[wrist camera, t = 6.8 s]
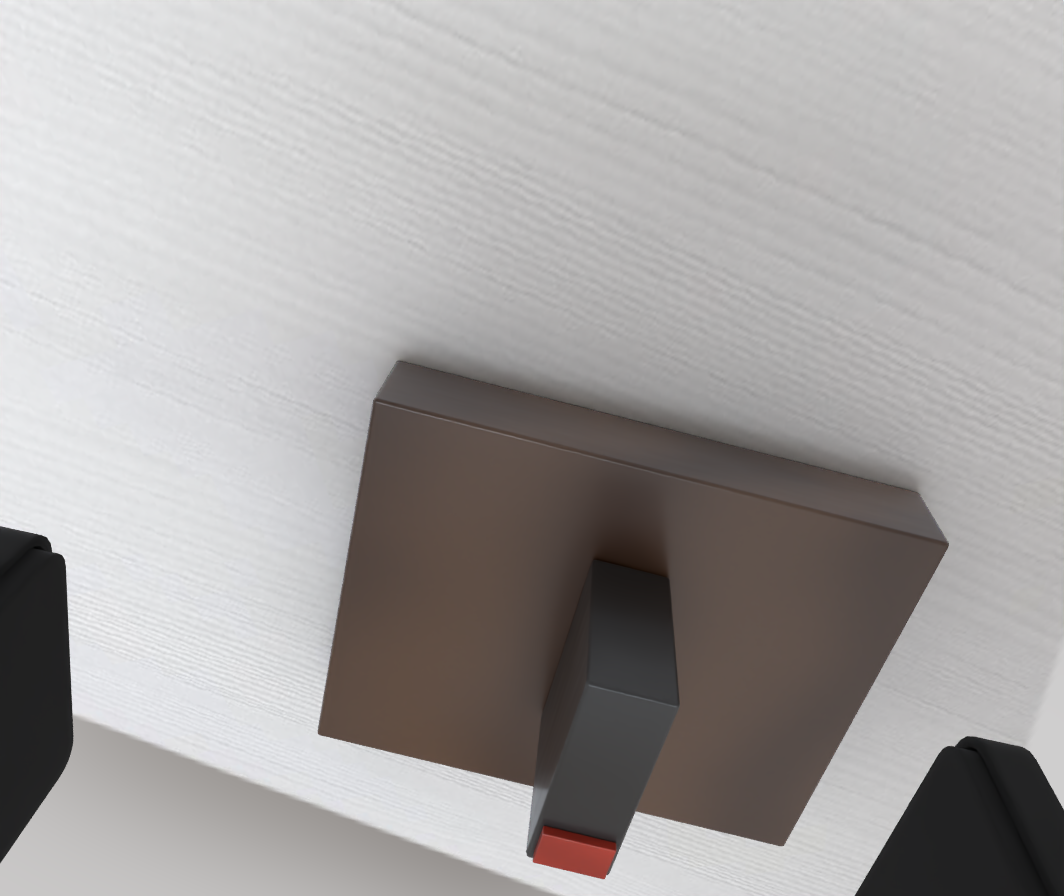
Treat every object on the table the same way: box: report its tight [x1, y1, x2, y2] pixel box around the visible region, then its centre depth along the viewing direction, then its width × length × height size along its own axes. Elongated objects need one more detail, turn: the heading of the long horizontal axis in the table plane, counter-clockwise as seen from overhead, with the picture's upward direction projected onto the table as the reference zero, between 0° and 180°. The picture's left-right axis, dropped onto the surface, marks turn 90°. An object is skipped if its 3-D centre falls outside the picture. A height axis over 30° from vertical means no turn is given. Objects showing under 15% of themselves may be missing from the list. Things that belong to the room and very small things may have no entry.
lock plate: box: [318, 361, 949, 846], centre depth 25 cm, size 14×11×2 cm
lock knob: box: [526, 560, 680, 879], centre depth 21 cm, size 6×2×5 cm, turn 167°
